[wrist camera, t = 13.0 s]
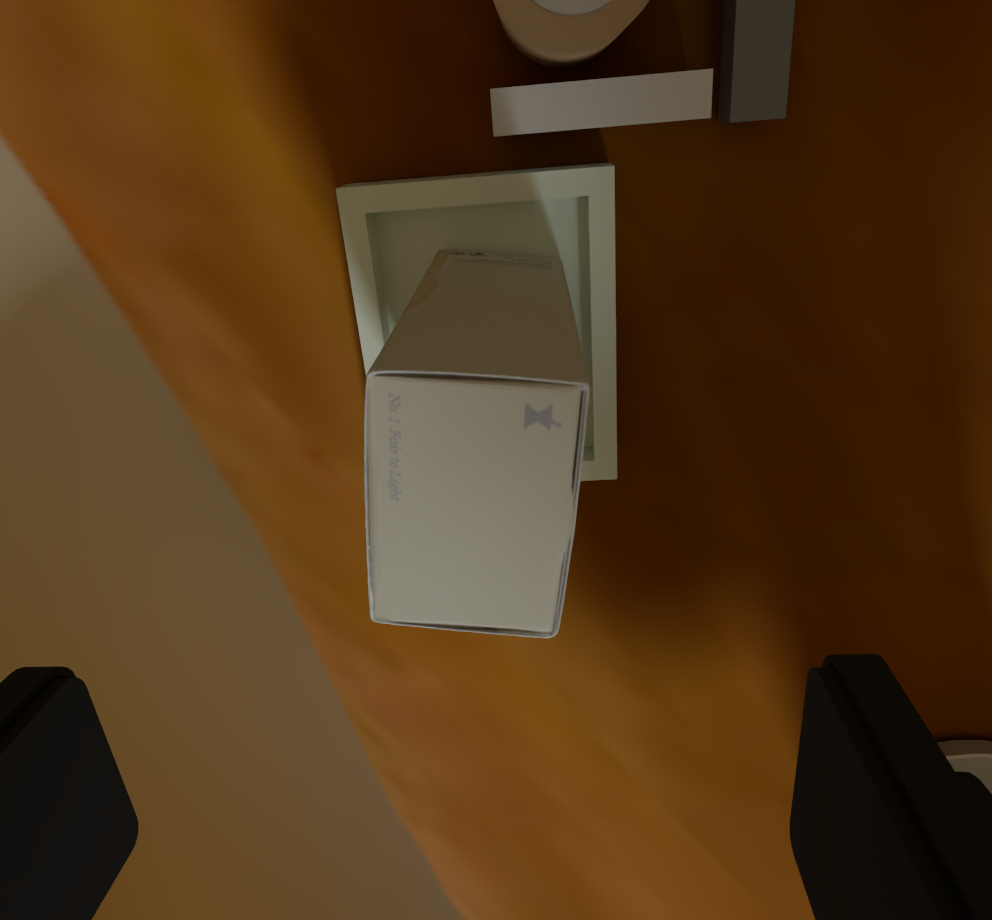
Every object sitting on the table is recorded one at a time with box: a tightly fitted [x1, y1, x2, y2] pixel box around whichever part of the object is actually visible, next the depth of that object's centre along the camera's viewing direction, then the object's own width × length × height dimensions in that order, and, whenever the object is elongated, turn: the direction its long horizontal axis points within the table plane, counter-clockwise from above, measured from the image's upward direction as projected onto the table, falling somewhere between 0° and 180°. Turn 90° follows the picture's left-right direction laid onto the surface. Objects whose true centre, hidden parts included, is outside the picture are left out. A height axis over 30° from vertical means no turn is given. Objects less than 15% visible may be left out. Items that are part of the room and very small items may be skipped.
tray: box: [335, 162, 617, 481], centre depth 25 cm, size 9×11×2 cm
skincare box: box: [364, 250, 590, 638], centre depth 20 cm, size 6×4×12 cm
